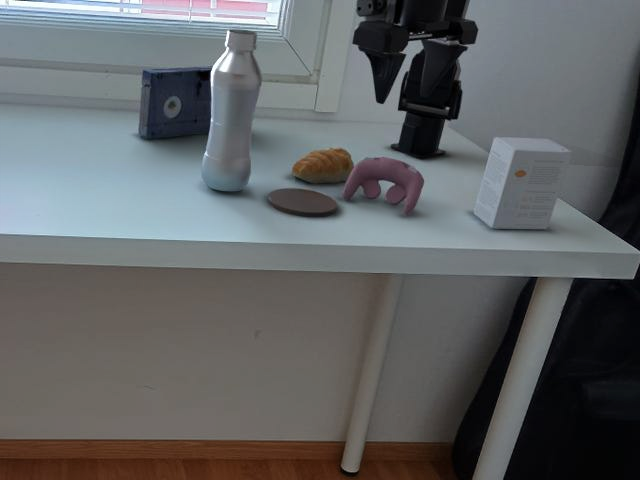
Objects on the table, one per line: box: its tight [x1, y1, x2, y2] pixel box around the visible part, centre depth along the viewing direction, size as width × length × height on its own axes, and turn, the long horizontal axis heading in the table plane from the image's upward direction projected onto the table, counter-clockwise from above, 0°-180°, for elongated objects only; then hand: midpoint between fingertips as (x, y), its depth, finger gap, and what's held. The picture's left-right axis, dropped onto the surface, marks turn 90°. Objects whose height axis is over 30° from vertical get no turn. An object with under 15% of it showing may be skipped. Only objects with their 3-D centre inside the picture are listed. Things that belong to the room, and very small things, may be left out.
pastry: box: [291, 147, 355, 185], centre depth 121 cm, size 9×7×4 cm
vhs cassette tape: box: [137, 65, 214, 140], centre depth 134 cm, size 18×3×10 cm, turn 122°
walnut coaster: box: [267, 187, 338, 218], centre depth 111 cm, size 9×9×1 cm
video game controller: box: [342, 156, 425, 216], centre depth 113 cm, size 10×5×7 cm
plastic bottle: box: [200, 28, 264, 192], centre depth 109 cm, size 6×7×20 cm
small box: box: [473, 136, 573, 230], centre depth 110 cm, size 8×6×10 cm
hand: (402, 99), depth 115 cm, fingers open, 9 cm apart
